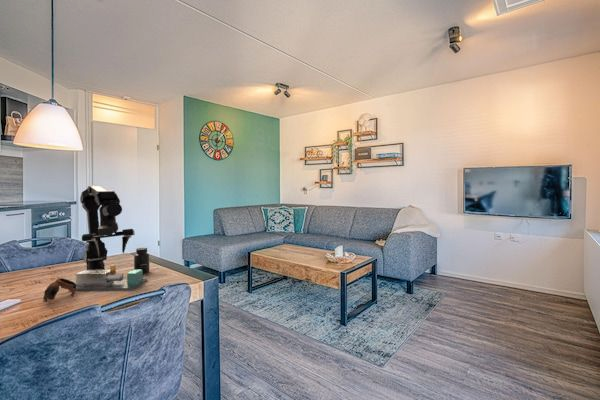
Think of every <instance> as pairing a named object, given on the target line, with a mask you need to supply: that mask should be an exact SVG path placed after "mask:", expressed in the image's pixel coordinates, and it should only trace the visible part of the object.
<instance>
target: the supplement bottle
mask: <svg viewBox="0 0 600 400" xmlns="http://www.w3.org/2000/svg"><path fill="white" fill-rule="evenodd" d="M135 250H136V251H135V252H136V254H134V255H133V270H138V269H142V270H143V274H144V275H145V274H148V273H149V272H150V254H149V253H148V247H138V248H136V249H135Z"/></svg>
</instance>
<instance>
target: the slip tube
mask: <svg viewBox="0 0 600 400" xmlns="http://www.w3.org/2000/svg"><path fill="white" fill-rule="evenodd" d="M116 265H117V264H111V265H110V266H109V270H110V274H107V281H122V280H123V279H124V273H117V270H116V269H117V268H116Z"/></svg>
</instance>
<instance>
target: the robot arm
mask: <svg viewBox="0 0 600 400" xmlns="http://www.w3.org/2000/svg"><path fill="white" fill-rule="evenodd" d="M79 200H80V201H79V202H80V204H81V207H82V209H83V210H84V211H85V212H86V216H87V218H86V219H87V228H88V233H84V234H82V235H81V242H86V243H87V245H86V246H85V251H84V254H83V262H84V263H85V264H86V270H106V269H105V262H104V261H107V258H108V250H107V247H106V244H105V242H104V241H102V240H101V239H103V238H111V237H112V238H113V237H120V236H122V238H121V241H122V244H121V245H122V248H121V251H122V254H124V253H125V250H126V247H127V244H128V242H129V240H130V239H131V238H132V236H135V230H134V229H133V228H126V229H122V231H119V225H118V222H117V219H116V217H117V216H119V215H120V214H121V213H122V212H123V207H122V205H121V204H120V203H121V199H120V198H119V196H118V195H117V192H116V191H115V190H106V189H105V188H103V187H102V186H101V185H88V186H87V188H86V189H85V190H83V191H81V194H80V197H79ZM99 221H100V222H99Z"/></svg>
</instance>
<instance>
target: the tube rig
mask: <svg viewBox="0 0 600 400" xmlns="http://www.w3.org/2000/svg"><path fill="white" fill-rule="evenodd" d="M107 274H110V269H105V270H87V269H84V270H82V271H80V272H77V273H76V274H75V283H76V284H77V286H76V292H90V291H91V292H93V291H94V292H95V291H97V292H99V291H101V292H102V291H103V292H104V291H106V292H107V291H116V292H117V291H134V289H135V290H136V289H137V288H139V287H141V286H142V285H143V284H145V283H147V282H148V279H147V278H144V277H143V276H144V275H143V270H142V269H138V270H134V269H133V270H131V271H129V272H127V273H126V278H123V280H122V281H107ZM68 291H69V292H72V290H68Z"/></svg>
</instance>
